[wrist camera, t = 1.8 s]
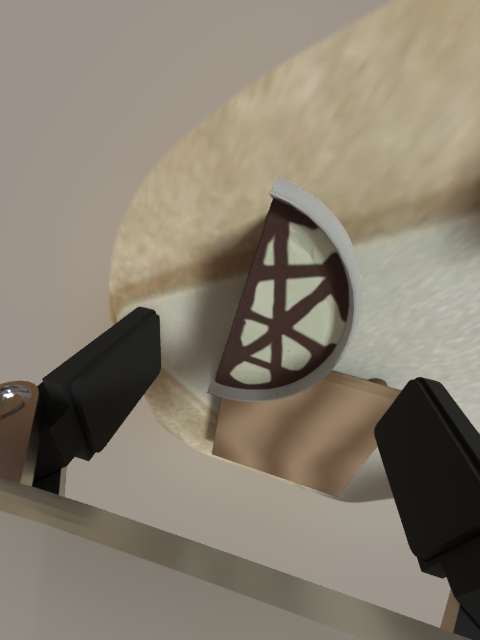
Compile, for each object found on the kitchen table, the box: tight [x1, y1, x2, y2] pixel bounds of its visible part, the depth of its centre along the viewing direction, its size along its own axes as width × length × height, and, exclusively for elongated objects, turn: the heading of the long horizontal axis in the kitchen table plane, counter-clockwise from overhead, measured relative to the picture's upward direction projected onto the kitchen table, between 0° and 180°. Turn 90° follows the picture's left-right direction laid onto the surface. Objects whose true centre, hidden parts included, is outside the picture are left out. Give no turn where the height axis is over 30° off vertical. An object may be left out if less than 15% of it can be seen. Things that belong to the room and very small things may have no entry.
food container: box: [207, 177, 361, 402], centre depth 15 cm, size 12×6×10 cm, turn 164°
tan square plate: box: [212, 371, 402, 497], centre depth 26 cm, size 16×17×3 cm
